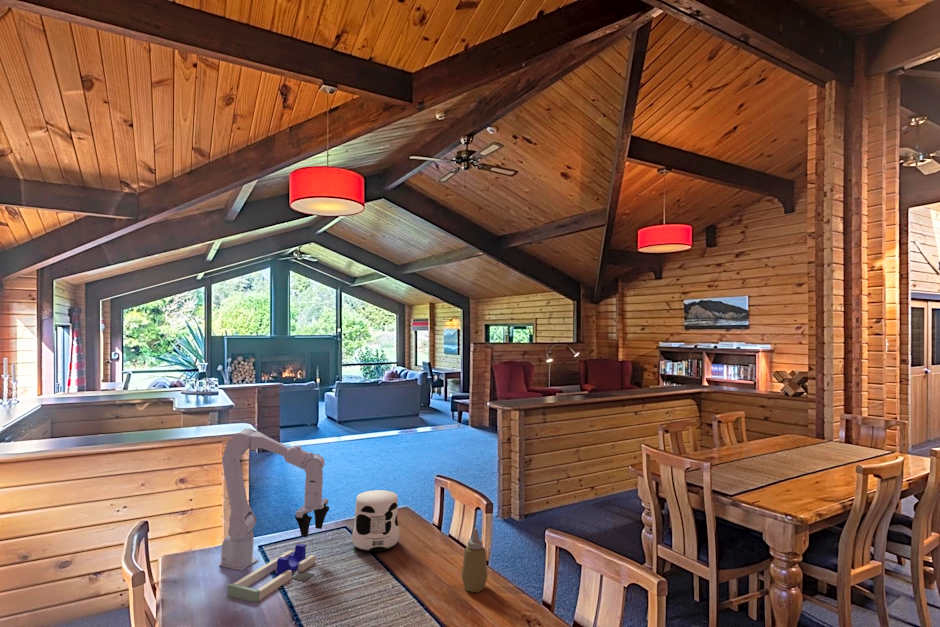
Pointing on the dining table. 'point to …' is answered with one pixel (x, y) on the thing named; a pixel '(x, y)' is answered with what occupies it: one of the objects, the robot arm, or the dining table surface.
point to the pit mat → (303, 576)
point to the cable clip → (291, 560)
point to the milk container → (375, 521)
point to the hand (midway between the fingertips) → (311, 532)
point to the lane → (254, 595)
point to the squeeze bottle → (474, 564)
